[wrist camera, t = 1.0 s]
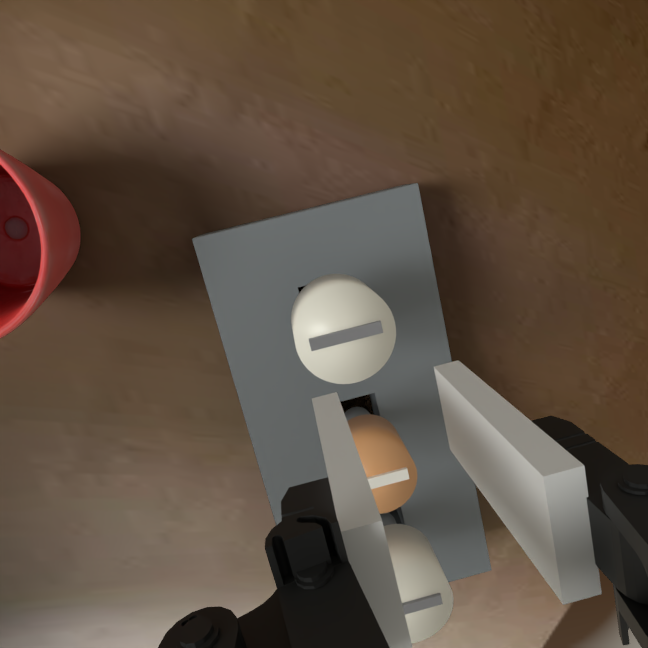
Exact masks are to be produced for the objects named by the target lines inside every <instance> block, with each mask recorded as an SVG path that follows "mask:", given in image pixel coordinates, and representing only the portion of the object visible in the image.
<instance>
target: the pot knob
mask: <svg viewBox="0 0 648 648" xmlns="http://www.w3.org/2000/svg"><path fill="white" fill-rule="evenodd" d="M344 414H345V417H346V420H347V422H348V425H349V428H350V431H351V434H352V437H353V439H354V442H355V445H356V448H357V451H358V454H359V456H360V459H361V462H362V465H363V468H364V471H365V473H366V476H367V479H368V482H369V485H370V488H371V490H372V493H373V496H374V499H375V502H376V505H377V507H378V510H379V513H380V514H383V513H388V512H391V511H393V510H395V509H397V508H399V507H401V506H402V505H403V504H404V503H406V501H407V500H408V499H409V498H410V497H411V495H412V494H413V492H414V490H415V487H416V484H417V469H416V466H415V463H414V461H413V459H412V458H411V456H410V454H409V452H408V450H407V449H406V447H405V445H404V443H403V441H402V440H401V438H400V436H399V434H398V432H397V431H396V429H395V427H394V426H393V425H392V424H391V423H390V422H389V421H388V420H386V419H385V418H383V417H381V416H377V415H372V414H370V413H369V412H368V411H367V410H366V409H365V408H362V407H352V408H350V409H348V410H347V411H346V412H345V413H344Z"/></svg>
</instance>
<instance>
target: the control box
mask: <svg viewBox="0 0 648 648" xmlns="http://www.w3.org/2000/svg"><path fill="white" fill-rule="evenodd" d="M192 241H193V244H194V248H195V251H196V254H197V258H198V261H199V265H200V268H201V271H202V275H203V278H204V282H205V285H206V288H207V292H208V295H209V299H210V302H211V305H212V309H213V312H214V316H215V319H216V322H217V326H218V329H219V333H220V336H221V339H222V343H223V346H224V350H225V353H226V356H227V360H228V363H229V367H230V370H231V373H232V377H233V380H234V384H235V387H236V390H237V394H238V397H239V401H240V404H241V407H242V411H243V414H244V418H245V421H246V424H247V428H248V431H249V435H250V438H251V441H252V445H253V448H254V452H255V455H256V458H257V462H258V465H259V468H260V472H261V475H262V479H263V482H264V485H265V489H266V492H267V496H268V499H269V502H270V506H271V509H272V513H273V516H274V519H275V523H276V525H278V524H279V523H280V522H281V521H282V519H281V518H282V516H281V500H282V499H283V497H284V495H285V493H286V492H287V490H288V488H289V487H293V486H297V485H300V484H304V483H308V482H311V481H315V480H319V479H323V478H326V477H328V474H327V469H326V465H325V460H324V455H323V450H322V446H321V441H320V436H319V431H318V427H317V422H316V417H315V412H314V408H313V403H312V398H316V397H320V396H323V395H327V394H331V393H335V392H337V394H338V397H339V400H340V402H341V401H345V400H349V399H353V398H357V397H360V396H364V395H368V394H369V395H370V400H371V404H372V408H373V413H374V414H372V415H377V416H381V417H383V418H385V419H386V420H388V421H389V422H390V423H391V424H392V425H393V426H394V427H395V429H396V431H397V432H398V434H399V436H400V438H401V440H402V441H403V443H404V445H405V447H406V449H407V450H408V452H409V454H410V456H411V458H412V459H413V461H414V463H415V466H416V469H417V484H416V487H415V490H414V492H413V494H412V495H411V497H410V498H409V499H408V500H407V501H406V503H404V504H403V505H402V506H401V507H399V508H397V509H395V510H393V511H391V512H388V513H390V514H391V515H392V516H393V517H394V518H395V521H396V523H397V524H404V525H408V526H412V527H414V528H416V529H418V530H419V531H421V532H422V533H423V534H424V535H425V536H426V537H427V539H428V540H429V542H430V544H431V547H432V549H433V551H434V553H435V555H436V557H437V559H438V562H439V564H440V566H441V568H442V570H443V572H444V574H445V576H446V579H447V581H448V582H451V581H455V580H458V579H462V578H465V577H469V576H473V575H476V574H480V573H483V572H487V571H490V570H491V565H490V560H489V554H488V549H487V544H486V539H485V533H484V528H483V523H482V518H481V512H480V507H479V502H478V497H477V491H476V486H475V483H474V482H473V480H472V479H471V478H470V476H469V475H468V473H467V472H466V471H465V469H464V468H463V467H462V465H461V464H460V462H459V461H458V460H457V458H456V457H455V456H454V454H453V453H452V451H451V450H450V447H449V442H448V437H447V432H446V427H445V422H444V416H443V411H442V406H441V401H440V396H439V391H438V386H437V381H436V376H435V371H434V366H438V365H442V364H446V363H450V362H452V360H451V355H450V349H449V344H448V339H447V334H446V328H445V323H444V318H443V313H442V307H441V302H440V297H439V292H438V286H437V281H436V276H435V271H434V265H433V260H432V255H431V250H430V244H429V239H428V234H427V229H426V223H425V218H424V213H423V207H422V202H421V197H420V192H419V186H418V183H414V184H407V185H401V186H397V187H393V188H388V189H384V190H380V191H376V192H372V193H368V194H364V195H360V196H356V197H352V198H348V199H344V200H340V201H336V202H332V203H328V204H324V205H320V206H315V207H311V208H307V209H303V210H299V211H295V212H291V213H287V214H283V215H279V216H275V217H271V218H267V219H263V220H259V221H255V222H251V223H247V224H242V225H238V226H234V227H230V228H226V229H222V230H218V231H214V232H210V233H206V234H202V235H199V236H197V237H195V238H192ZM329 274H345V275H349V276H352V277H355V278H357V279H359V280H360V281H362V282H363V283H365V284H366V285H367V286H368V287H369V288H370V289H372V290H373V291H374V292H375V293H376V294H377V295H379V296H380V297H381V298H382V299H383V300H384V301H385V303H386V304H387V305H388V307H389V308H390V310H391V312H392V314H393V317H394V320H395V325H396V340H395V345H394V349H393V351H392V353H391V355H390V357H389V359H388V361H387V362H386V363H385V365H384V366H383V367H382V368H381V369H380V370H379V371H378V372H377V373H375V374H374V375H372V376H371V377H369V378H367V379H365V380H363V381H360V382H357V383H352V384H336V383H331V382H328V381H325V380H322V379H320V378H318V377H317V376H315V375H314V374H313V373H311V372H310V371H309V370H308V369H307V368H306V367H305V366H304V364H303V363H302V361H301V360H300V358H299V356H298V353H297V350H296V347H295V341H294V336H293V330H292V324H291V313H292V308H293V305H294V302H295V300H296V298H297V296H298V294H299V290H298V287H302V286H306V285H307V284H308V283H310V282H311V281H313V280H314V279H316V278H319V277H321V276H324V275H329Z"/></svg>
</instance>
